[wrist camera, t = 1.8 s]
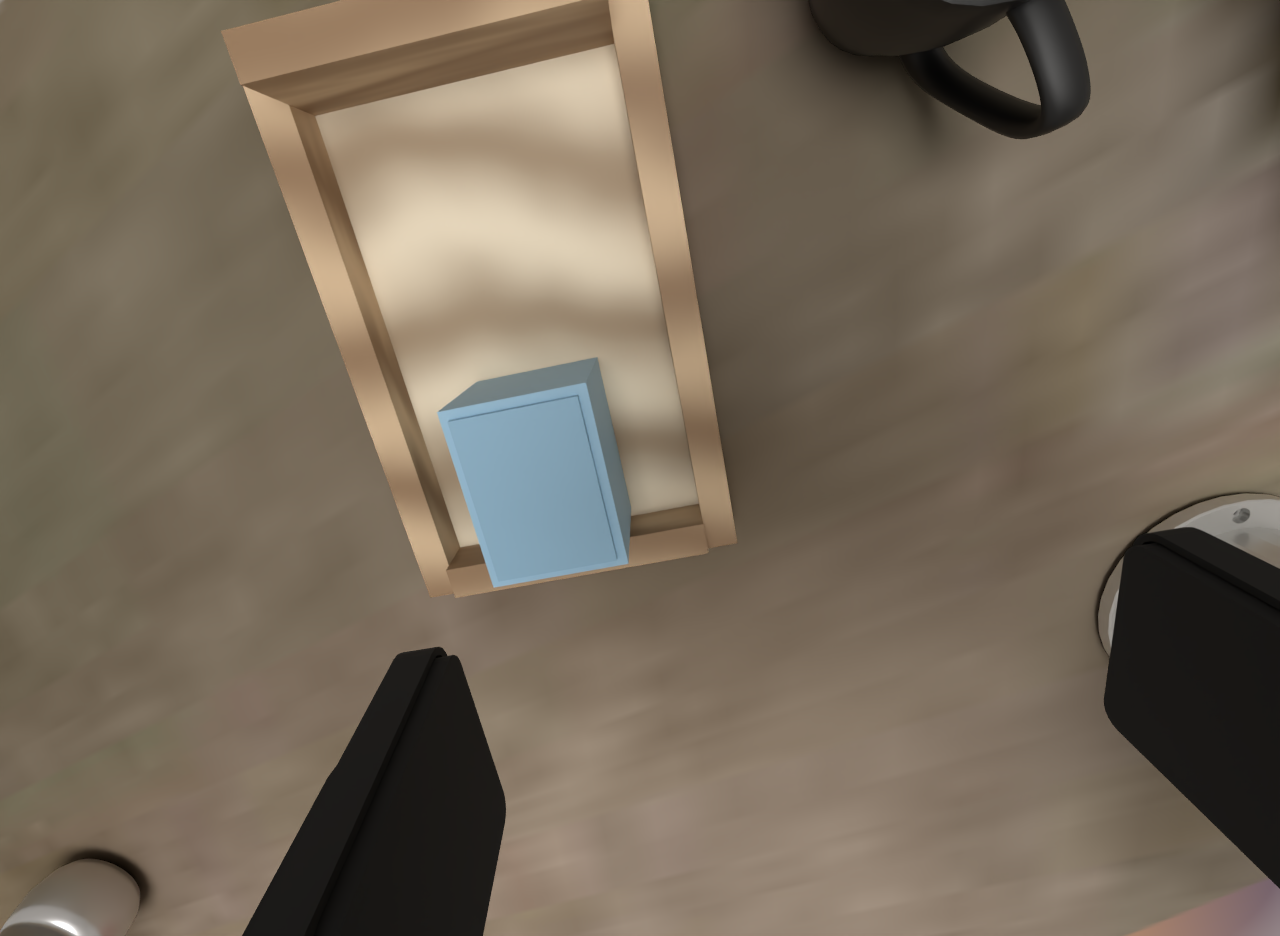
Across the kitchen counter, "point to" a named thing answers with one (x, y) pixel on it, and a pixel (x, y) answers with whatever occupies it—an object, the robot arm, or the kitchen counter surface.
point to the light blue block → (541, 472)
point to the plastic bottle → (78, 903)
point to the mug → (939, 15)
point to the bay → (495, 240)
